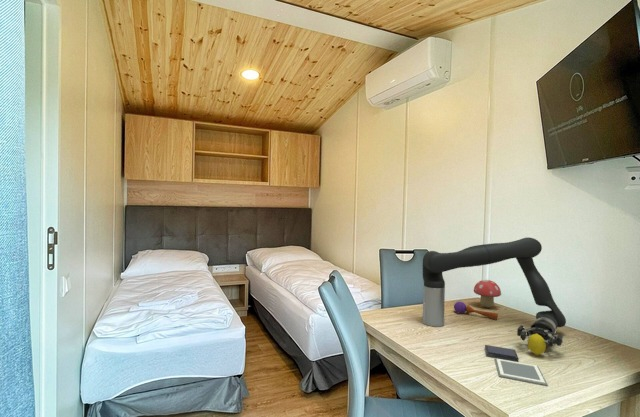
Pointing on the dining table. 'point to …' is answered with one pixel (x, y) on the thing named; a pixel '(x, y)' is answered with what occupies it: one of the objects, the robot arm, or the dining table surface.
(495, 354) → the ink pad
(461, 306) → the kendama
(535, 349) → the lemon
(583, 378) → the dining table surface
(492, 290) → the decorative mushroom
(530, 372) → the marked board
